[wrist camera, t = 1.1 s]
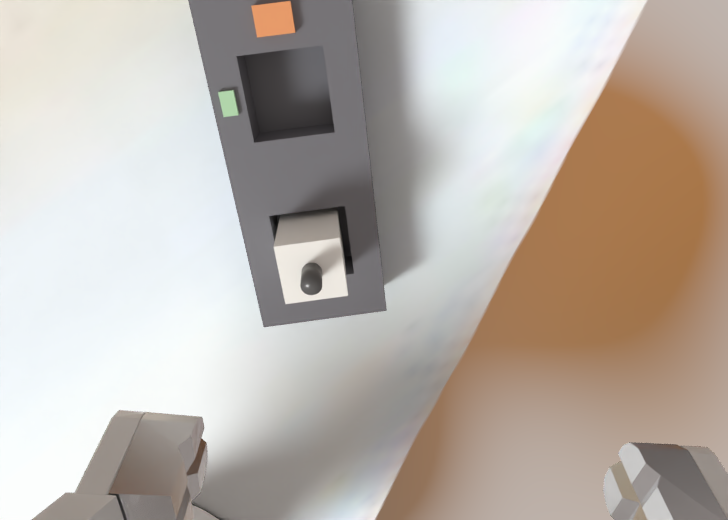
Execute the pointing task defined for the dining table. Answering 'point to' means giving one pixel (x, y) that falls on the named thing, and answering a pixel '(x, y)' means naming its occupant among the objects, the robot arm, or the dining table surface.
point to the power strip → (293, 137)
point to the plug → (310, 255)
